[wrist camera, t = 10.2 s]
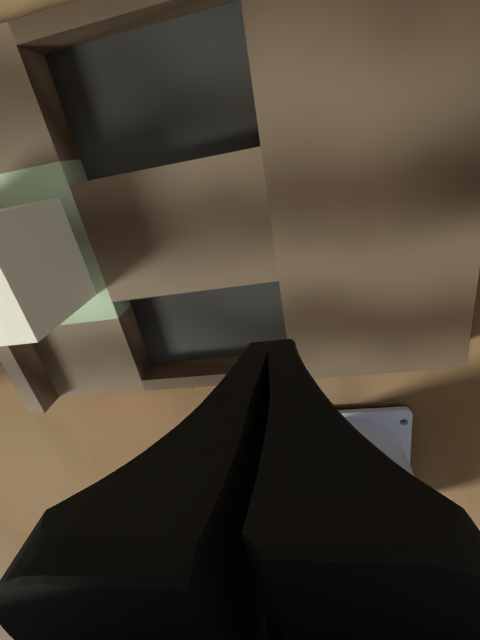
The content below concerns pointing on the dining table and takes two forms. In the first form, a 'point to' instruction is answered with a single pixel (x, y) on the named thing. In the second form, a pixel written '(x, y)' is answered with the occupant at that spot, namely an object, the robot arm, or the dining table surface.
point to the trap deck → (248, 184)
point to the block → (39, 272)
